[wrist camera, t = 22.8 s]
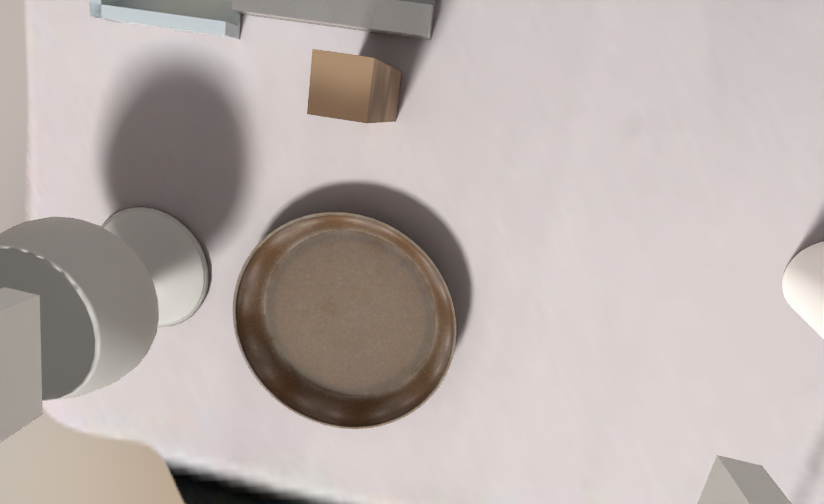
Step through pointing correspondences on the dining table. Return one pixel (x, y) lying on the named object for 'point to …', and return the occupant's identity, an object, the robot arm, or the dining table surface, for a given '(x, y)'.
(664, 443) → the dining table surface
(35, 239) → the chalice
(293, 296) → the plant saucer
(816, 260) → the cup
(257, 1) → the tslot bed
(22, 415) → the robot arm
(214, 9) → the tray
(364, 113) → the brown wooden block
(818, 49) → the dining table surface
